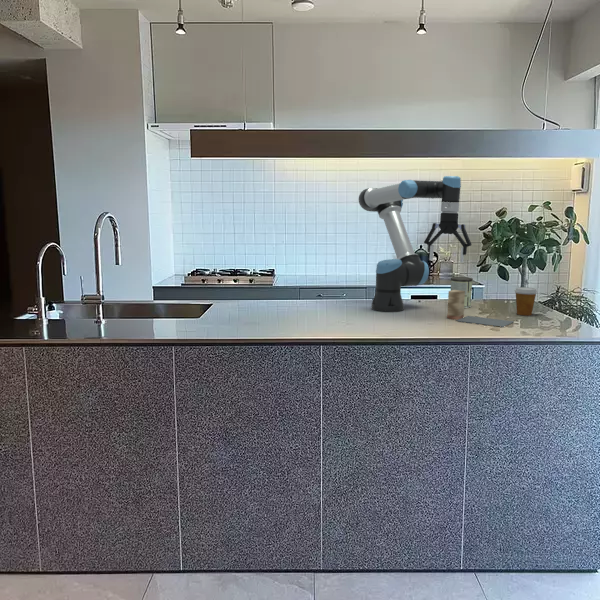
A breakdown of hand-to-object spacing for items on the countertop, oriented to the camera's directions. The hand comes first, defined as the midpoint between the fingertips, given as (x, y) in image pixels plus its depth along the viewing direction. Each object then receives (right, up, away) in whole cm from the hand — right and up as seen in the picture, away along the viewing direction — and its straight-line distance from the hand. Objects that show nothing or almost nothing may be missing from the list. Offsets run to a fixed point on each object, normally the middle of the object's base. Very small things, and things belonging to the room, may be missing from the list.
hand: (446, 261), depth 248 cm
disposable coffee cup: (+38, -24, +9) cm, 46 cm away
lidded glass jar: (+14, -21, +29) cm, 38 cm away
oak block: (+4, -25, -2) cm, 25 cm away
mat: (+14, -26, -10) cm, 31 cm away
